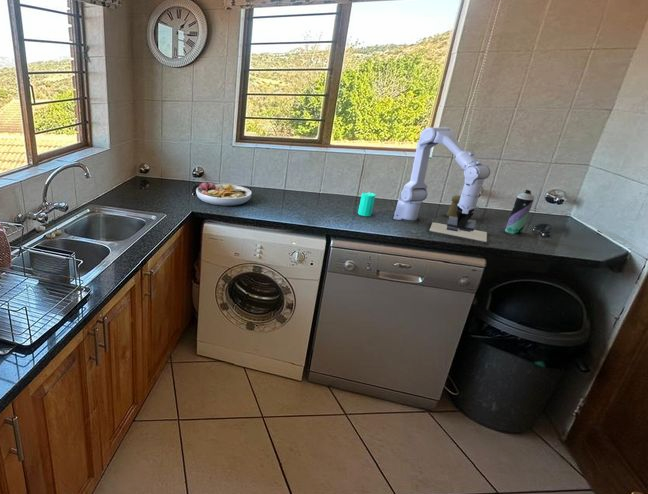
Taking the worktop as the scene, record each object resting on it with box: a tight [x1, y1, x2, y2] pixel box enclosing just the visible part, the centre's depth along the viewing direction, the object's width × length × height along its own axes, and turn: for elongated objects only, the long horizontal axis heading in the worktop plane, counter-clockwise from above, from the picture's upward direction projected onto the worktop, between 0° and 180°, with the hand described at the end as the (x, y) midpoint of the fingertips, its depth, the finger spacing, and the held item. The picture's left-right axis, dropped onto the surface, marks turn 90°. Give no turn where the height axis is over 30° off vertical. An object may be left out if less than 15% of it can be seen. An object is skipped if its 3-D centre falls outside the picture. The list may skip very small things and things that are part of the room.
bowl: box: [195, 181, 253, 207], centre depth 221 cm, size 30×30×8 cm
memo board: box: [429, 222, 488, 243], centre depth 177 cm, size 20×14×1 cm
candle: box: [357, 191, 377, 217], centre depth 198 cm, size 6×6×12 cm
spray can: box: [504, 189, 535, 235], centre depth 173 cm, size 6×6×20 cm
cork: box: [445, 194, 461, 217], centre depth 195 cm, size 6×6×11 cm
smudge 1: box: [447, 227, 458, 231], centre depth 179 cm, size 4×3×1 cm
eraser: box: [446, 216, 477, 231], centre depth 168 cm, size 9×4×4 cm, turn 51°
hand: (460, 225), depth 168 cm, fingers closed on eraser, 4 cm apart
